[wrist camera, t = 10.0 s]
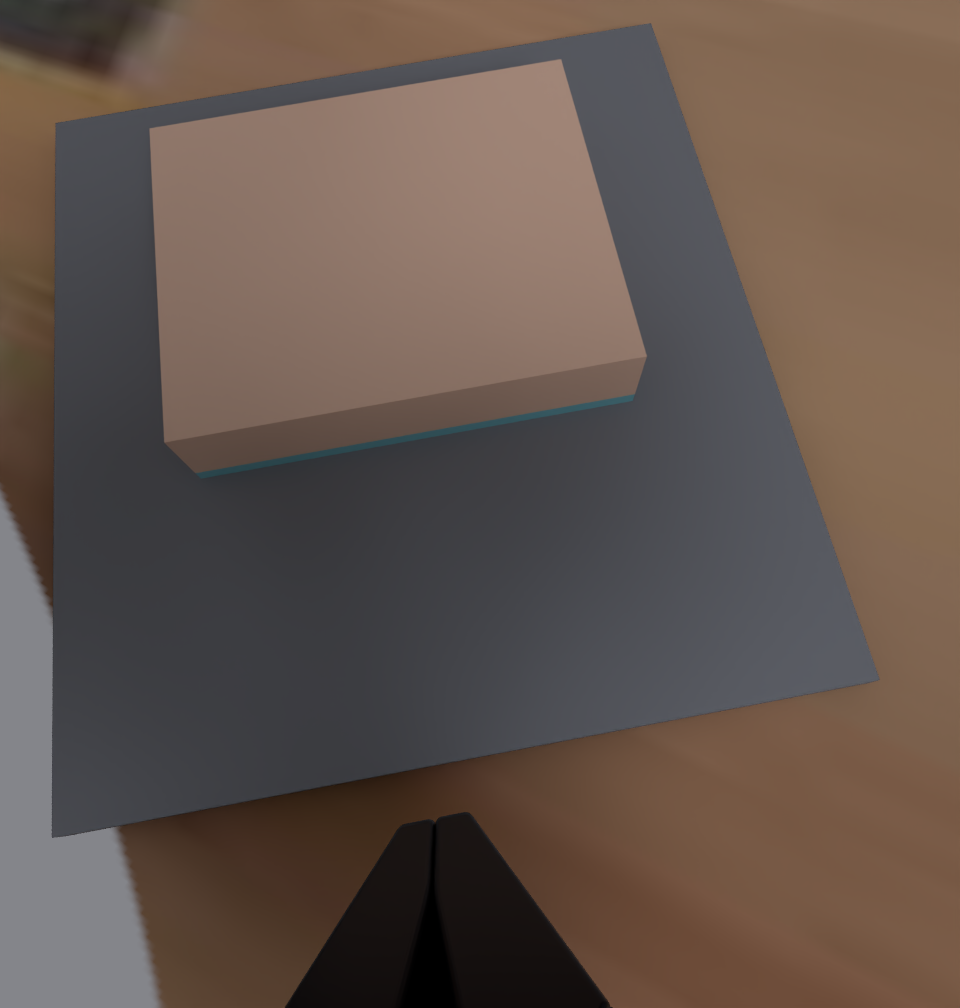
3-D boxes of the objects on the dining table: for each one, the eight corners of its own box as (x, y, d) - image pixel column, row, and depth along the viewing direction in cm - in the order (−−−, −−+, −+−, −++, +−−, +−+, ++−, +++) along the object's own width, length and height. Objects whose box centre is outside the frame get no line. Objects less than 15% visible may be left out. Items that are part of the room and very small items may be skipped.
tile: (647, 356, 19) (561, 58, 23) (164, 442, 19) (149, 128, 23) (632, 400, 22) (556, 124, 25) (200, 478, 21) (182, 188, 25)
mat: (868, 682, 20) (879, 679, 19) (65, 836, 19) (51, 838, 18) (647, 39, 27) (650, 23, 26) (65, 137, 26) (55, 123, 26)
